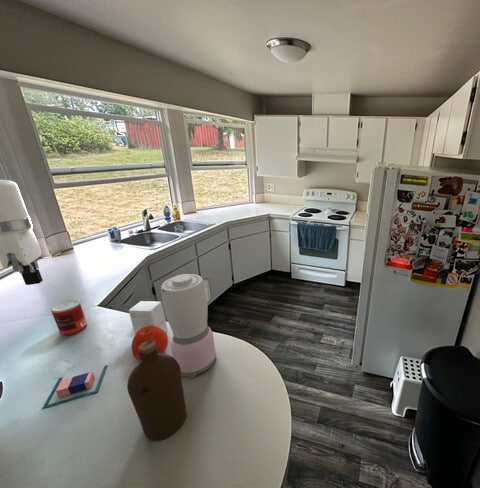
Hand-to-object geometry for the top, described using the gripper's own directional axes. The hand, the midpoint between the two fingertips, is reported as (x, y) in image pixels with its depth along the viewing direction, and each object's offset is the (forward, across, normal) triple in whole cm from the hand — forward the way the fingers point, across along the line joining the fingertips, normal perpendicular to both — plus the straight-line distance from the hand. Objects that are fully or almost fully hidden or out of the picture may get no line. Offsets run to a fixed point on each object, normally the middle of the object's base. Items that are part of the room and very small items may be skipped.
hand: (34, 282), depth 76 cm
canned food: (+27, -14, -1) cm, 31 cm away
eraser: (+27, +19, +9) cm, 35 cm away
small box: (+27, +2, +26) cm, 38 cm away
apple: (+27, +13, +27) cm, 41 cm away
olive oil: (+27, +42, +33) cm, 60 cm away
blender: (+27, +23, +42) cm, 55 cm away
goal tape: (+27, +18, +9) cm, 34 cm away
